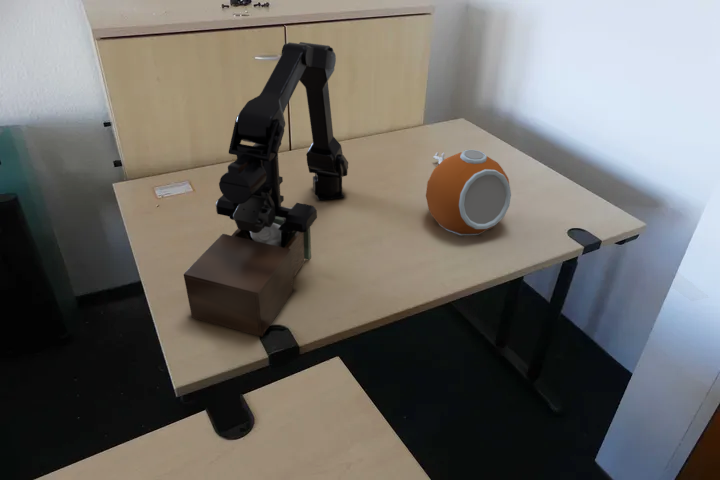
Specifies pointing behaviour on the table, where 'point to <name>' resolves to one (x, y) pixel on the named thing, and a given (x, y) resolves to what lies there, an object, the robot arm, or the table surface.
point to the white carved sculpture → (268, 235)
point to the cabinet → (240, 284)
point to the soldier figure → (439, 157)
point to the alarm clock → (468, 193)
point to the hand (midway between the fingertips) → (269, 245)
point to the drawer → (290, 245)
